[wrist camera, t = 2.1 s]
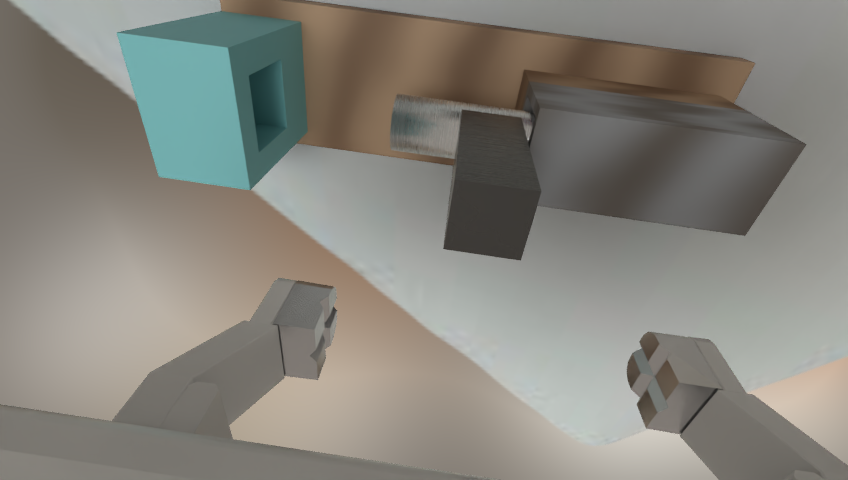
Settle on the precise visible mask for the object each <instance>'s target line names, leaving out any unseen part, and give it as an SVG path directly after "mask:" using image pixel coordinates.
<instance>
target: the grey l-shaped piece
mask: <svg viewBox="0 0 848 480" xmlns="http://www.w3.org/2000/svg"><path fill="white" fill-rule="evenodd" d="M534 120H535V115H534V112H528V111H521V110H514V109H506V108H499V107H492V106H485V105H477V104H470V103H463V102H456V101H448V100H441V99H434V98H427V97H419V96H412V95H405V94H397V95H396V98H395V101H394V106H393V112H392V119H391V128H390V147H391V150H394V151H401V152H408V153H415V154H423V155H430V156H437V157H444V158H451V159H454V164H453V172H452V181H451V189H450V198H449V206H448V214H447V223H446V231H445V240H444V248H443V249H447V250H454V251H461V252H468V253H474V254H481V255H488V256H495V257H501V258H508V259H515V260H521V258H522V254H523V251H524V248H525V244H526V241H527V238H528V235H529V231H530V228H531V225H532V221H533V218H534V215H535V211H536V208H537V205H538V202H539V198H540V195H541V188H540V184H539V181H538V177H537V173H536V170H535V166H534V162H533V159H532V155H531V151H530V148H529V144H528V143H529V139H530V135H531V131H532V127H533V124H534Z"/></svg>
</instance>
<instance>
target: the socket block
mask: <svg viewBox="0 0 848 480" xmlns="http://www.w3.org/2000/svg"><path fill="white" fill-rule="evenodd" d="M117 36H118V39H119V43H120V46H121V49H122V53H123V56H124V60H125V63H126V66H127V70H128V73H129V77H130V80H131V83H132V87H133V90H134V94H135V97H136V100H137V104H138V107H139V111H140V114H141V117H142V121H143V124H144V127H145V131H146V134H147V137H148V141H149V144H150V148H151V151H152V155H153V158H154V161H155V165H156V168H157V172H158V175H159V177H164V178H171V179H178V180H185V181H192V182H199V183H205V184H213V185H219V186H226V187H233V188H239V189H246V190H251V189H252V188H253V187H254V186H255V185H256V184H257V183H258V182H259V181H260V180H261V179H262V178H263V176H264V175H265V174H266V173H267V172H268V171H269V170H270V169H271V168H272V167H273V166H274V165H275V164H276V163H277V162H278V161H279V160H280V159H281V158H282V157H283V156H284V155H285V154H286V153H287V152H288V151H289V150H290V149H291V148H292V147H293V146H294V145H295V144H296V143H297V142H298V141H299V140H300V139H301V138H302V137H303V136H304V135H305V134H306V133H307V132H308V128H307V112H306V95H305V79H304V62H303V46H302V29H301V22H300V21H292V20H285V19H277V18H270V17H262V16H255V15H247V14H240V13H232V12H225V11H220V12H215V13H210V14H205V15H200V16H195V17H190V18H185V19H180V20H176V21H171V22H166V23H161V24H156V25H151V26H146V27H141V28H136V29H131V30H126V31H122V32H117Z"/></svg>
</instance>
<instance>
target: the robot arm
mask: <svg viewBox="0 0 848 480" xmlns="http://www.w3.org/2000/svg"><path fill="white" fill-rule="evenodd" d="M336 298H337V297H336V288H335V287H333V286H327V285H321V284H315V283H309V282H304V281H295V280H289V279H283V278H278V279H277V280H275V281H274V283H273V284H272V286H271V288H270V290H269V291H268V293H267V294H266V296H265V297H264V299H263V301H262V302H261V304H260V305H259V307H258V309H257V310H256V312H255V313H254V315H253V317H252V318H251V320H250V321H242V322H240V323H239V324H237V325H235V326H233V327H231V328H229V329H228V330H226V331H224V332H222V333H220V334H219V335H217V336H215V337H213V338H211V339H210V340H208V341H206V342H204V343H202V344H201V345H199V346H197V347H195V348H193V349H191V350H190V351H188V352H186V353H184V354H182V355H181V356H179V357H177V358H175V359H173V360H171V361H170V362H168V363H166V364H164V365H162V366H161V367H159V368H157V369H155V370H154V371H152V372H150V373H149V374H148V376H147V377H146V378H145V380H144V381H143V382H142V383H141V385H140V386H139V387H138V388H137V390H136V391H135V392H134V394H133V395H132V396H131V397H130V399H129V400H128V401H127V402H126V404H125V405H124V406H123V407H122V409H121V410H120V411H119V413H118V414H117V415H116V416H115V417H114V419H113V420H112V421H107V420H101V419H94V418H87V417H81V416H74V415H67V414H61V413H54V412H48V411H41V410H34V409H28V408H21V407H14V406H8V405H1V404H0V480H498V479H492V478H485V477H479V476H472V475H465V474H459V473H452V472H445V471H439V470H432V469H426V468H419V467H413V466H405V465H399V464H393V463H386V462H379V461H373V460H366V459H359V458H353V457H346V456H340V455H333V454H326V453H320V452H313V451H306V450H300V449H293V448H286V447H280V446H273V445H266V444H260V443H253V442H246V441H240V440H233V438H232V434H231V431H230V427H229V425H230V424H231V423H232V422H233V421H235V420H236V419H237V418H238V417H239V416H240V415H241V414H243V413H244V412H245V411H246V410H247V409H249V408H250V407H251V406H252V405H253V404H255V403H256V402H257V401H258V400H259V399H260V398H262V397H263V396H264V395H265V394H266V393H267V392H269V391H270V390H271V389H272V388H273V387H274V386H276V385H277V384H278V383H279V382H280V381H281V380H282V379H284V376H290V377H299V378H307V379H316V380H318V378H319V375H320V373H321V370H322V367H323V364H324V362H325V359H326V355H325V349H326V348H327V347H329V346H330V345H331V342H332V340H333V337H334V332H335V328H336V321H337V310H336V309H335V308H334V303H335V301H336ZM640 345H641V347H642V348H641V349H640V350H638V351H636V352H634V353H632V355H631V357H630V359H629V361H628V366H627V378H628V382H629V385H630V388H631V390H633V391H634V392H635V393H636V394H637V395H638V396H639V397H640V398H639V401H638V403H637V406H638V409H639V411H640V414H641V417H642V419H643V422H644V424H645V427H646V428H647V429H653V430H659V431H665V432H670V433H676V434H681V435H680V437H681V438H682V439H683V440H684V441H685V442H686V443H687V444H688V446H689V447H690V448H691V449H692V450H693V451H694V452H695V453H696V454H697V456H698V457H699V458H700V459H701V460H702V461H703V462H704V463H705V465H706V466H707V467H708V468H709V469H710V470H711V471H712V472H713V474H714V475H715V476H716V477H717V478H718V479H719V480H848V465H846V464H845V463H843V462H842V461H841V460H840V459H838V458H837V457H836V456H834V455H833V454H832V453H830V452H829V451H828V450H826V449H825V448H823V447H822V446H821V445H820V444H818V443H817V442H816V441H814V440H813V439H812V438H810V437H809V436H808V435H806V434H805V433H804V432H802V431H801V430H800V429H798V428H797V427H795V426H794V425H793V424H791V423H790V422H789V421H788V420H786V419H785V418H784V417H782V416H781V415H779V414H778V413H777V412H776V411H774V410H773V409H772V408H770V407H769V406H768V405H766V404H765V403H764V402H762V401H761V400H760V399H758V398H757V397H756V396H754V395H752V394H747V393H746V392H745V390H744V389H743V387H742V386H741V384H740V382H739V381H738V379H737V378H736V376H735V375H734V373H733V372H732V370H731V369H730V367H729V366H728V364H727V362H726V361H725V359H724V358H723V356H722V355H721V353H720V352H719V350H718V349H717V347H716V346H715V344H714V343H713V342H711V341H710V340H709V339H701V338H693V337H684V336H677V335H669V334H662V333H655V332H647V333H646V334H644V335H643V337H642V338H641V340H640Z"/></svg>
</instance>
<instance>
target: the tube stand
mask: <svg viewBox="0 0 848 480" xmlns="http://www.w3.org/2000/svg"><path fill="white" fill-rule="evenodd" d="M220 3H221V10H222V11H225V12H232V13H240V14H247V15H255V16H262V17H270V18H277V19H285V20H292V21H300V22H301V29H302V46H303V62H304V79H305V95H306V112H307V128H308V132H307V133H306V134H305V135H304V136H303V137H302V138H301V139H300V140H299V141H298V142H297V143H298V144H305V145H312V146H319V147H326V148H333V149H340V150H348V151H355V152H362V153H369V154H376V155H383V156H390V157H397V158H404V159H411V160H418V161H425V162H432V163H439V164H446V165H453V164H454V159H451V158H444V157H437V156H430V155H423V154H415V153H408V152H401V151H394V150H391V147H390V128H391V119H392V112H393V106H394V101H395V98H396V95H397V94H405V95H412V96H419V97H427V98H434V99H441V100H448V101H456V102H463V103H470V104H477V105H485V106H492V107H499V108H506V109H514V110H521V111H528V112H534V115H535V120H534V124H533V127H532V131H531V135H530V139H529V143H528V144H529V148H530V151H531V155H532V159H533V162H534V166H535V170H536V173H537V177H538V181H539V184H540V188H541V195H540V198H539V202H538V205H537V206H543V207H550V208H557V209H564V210H571V211H577V212H584V213H591V214H598V215H605V216H612V217H619V218H626V219H633V220H640V221H647V222H654V223H661V224H667V225H674V226H681V227H688V228H695V229H702V230H709V231H716V232H723V233H730V234H737V235H744V236H745V235H746V234H747V232H748V231H749V229H750V228H751V226H752V225H753V223H754V222H755V220H756V219H757V217H758V216H759V214H760V213H761V211H762V210H763V208H764V207H765V205H766V204H767V202H768V201H769V199H770V198H771V196H772V195H773V193H774V192H775V190H776V189H777V187H778V186H779V184H780V183H781V181H782V180H783V178H784V177H785V176H786V174H787V173H788V171H789V170H790V168H791V167H792V165H793V164H794V162H795V161H796V159H797V158H798V156H799V155H800V153H801V152H802V150H803V149H804V147H805V146H806V144H805V143H803V142H801V141H799V140H797V139H796V138H794V137H792V136H790V135H789V134H787V133H785V132H783V131H782V130H780V129H778V128H776V127H774V126H773V125H771V124H769V123H767V122H766V121H764V120H762V119H760V118H759V117H757V116H755V115H753V114H751V113H750V112H748V111H746V110H744V109H743V108H741V107H739V106H737V105H736V104H734V102H735V100H736V99H737V97H738V95H739V93H740V91H741V89H742V87H743V85H744V84H745V82H746V80H747V78H748V76H749V74H750V72H751V70H752V68H753V67H754V65H755V63H753V62H751V61H748V60H745V59H743V58H737V57H729V56H722V55H714V54H707V53H699V52H692V51H684V50H676V49H669V48H661V47H654V46H646V45H639V44H631V43H623V42H616V41H608V40H601V39H593V38H585V37H578V36H570V35H563V34H555V33H548V32H540V31H532V30H525V29H517V28H510V27H502V26H494V25H487V24H479V23H472V22H464V21H457V20H449V19H441V18H434V17H426V16H419V15H411V14H404V13H396V12H388V11H381V10H373V9H366V8H358V7H350V6H343V5H335V4H328V3H320V2H313V1H305V0H220Z"/></svg>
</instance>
